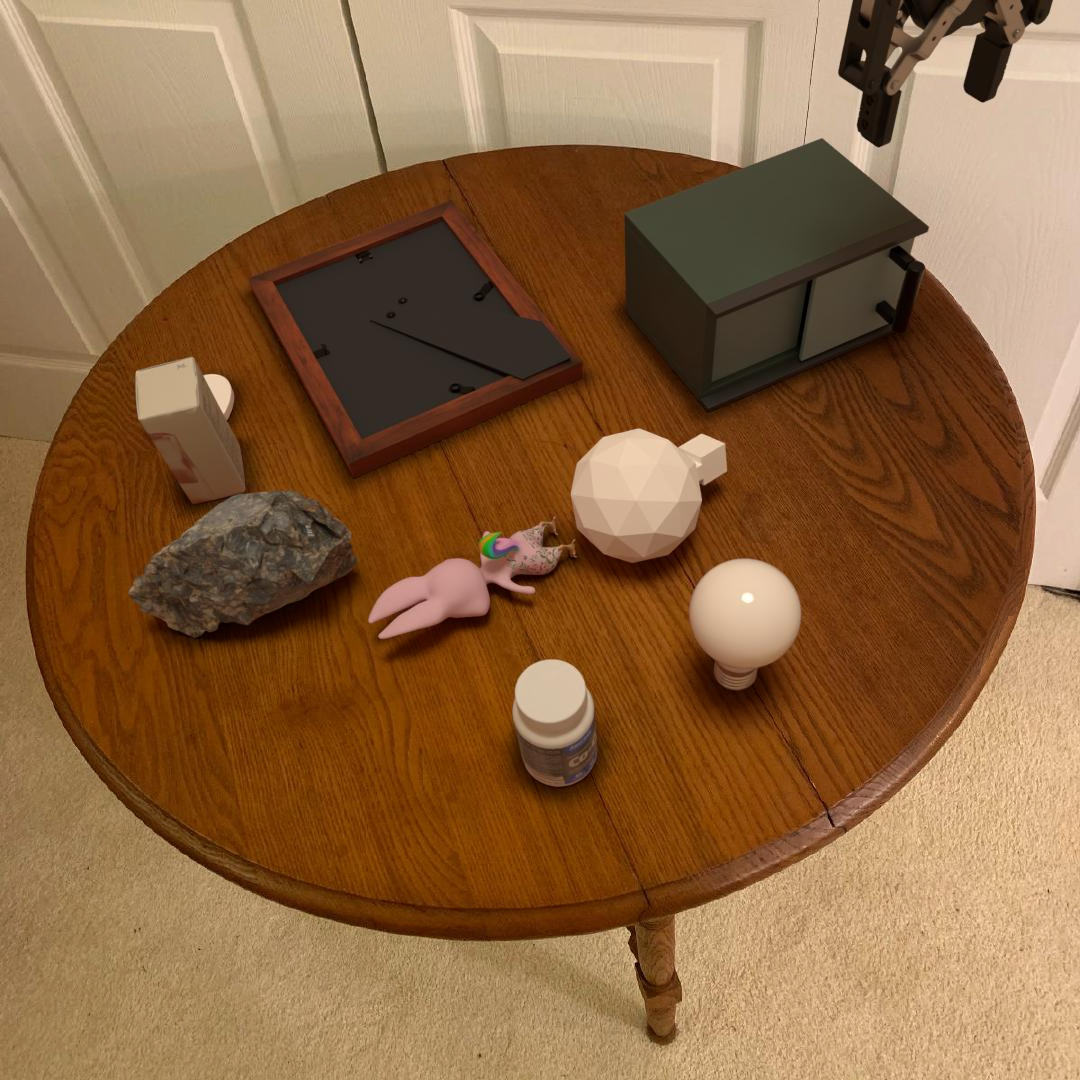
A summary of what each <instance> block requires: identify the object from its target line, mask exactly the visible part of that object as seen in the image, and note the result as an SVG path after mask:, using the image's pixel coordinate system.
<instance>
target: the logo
mask: <svg viewBox="0 0 1080 1080" xmlns="http://www.w3.org/2000/svg"><path fill="white" fill-rule="evenodd" d="M203 376H204V378H205V380H206V382H207V384H208V386H209V388H210V390H211V391H212V393H213V395H214V397H215V399H216V401H217V403H218V405H219V407H220V409H221V411H222V412H223V414H224V416H225V418H226V420H227V421H228V420H229V418H230V416H231V413H232V411H233V409H234V403H235V393H234V389H233V388H232V385H231V384H230V382H229V380H228V379H227V378H226V377H225V376H223V375H220V374H216V373H209V374H203Z"/></svg>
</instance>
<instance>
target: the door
mask: <svg viewBox="0 0 1080 1080" xmlns="http://www.w3.org/2000/svg"><path fill="white" fill-rule="evenodd" d="M915 238H916V237H915ZM915 238H912V239H910V240H907V241H905V242H902V243H900V244H898V245H895V246H893V247H890V248H888V249H885V250H883V251H881V252H878V253H876V254H873V255H871V256H868V257H866V258H864V259H861V260H859V261H856V262H854V263H851V264H849V265H847V266H844V267H842V268H839V269H837V270H834V271H832V272H830V273H827V274H825V275H822V276H820V277H818V278H815V279H813V281H812V287H811V293H810V298H809V304H808V309H807V315H806V321H805V326H804V332H803V337H802V343H801V349H800V354H799V359H800V360H801V361H803V360H805V359H807V358H810V357H812V356H814V355H817V354H819V353H821V352H824V351H826V350H828V349H831V348H833V347H835V346H838V345H840V344H842V343H845V342H847V341H849V340H852V339H854V338H856V337H859V336H861V335H863V334H866V333H868V332H870V331H873V330H875V329H877V328H880V327H882V326H884V325H887V324H889V325H891V324H892V325H891V328H892V330H893V331H894V332H893V333H896V334H904V333H906V332H907V331H908V329H909V325H910V322H911V319H912V314H913V311H914V308H915V304H916V301H917V298H918V294H919V291H920V287H921V284H922V280H923V277H924V273H925V270H926V265H925V263H923V262H922V261H919V260H916V258H915V257H913V255H911V253H912V250H913V246H914V242H915Z"/></svg>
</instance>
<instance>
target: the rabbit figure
mask: <svg viewBox="0 0 1080 1080" xmlns="http://www.w3.org/2000/svg"><path fill="white" fill-rule="evenodd" d="M556 518H557V516H554V517H553V518H552V520H551V521H544V520H543V521H540V522H539V523H538V524H537V525H536V526H533V527H530V528H528V529H524V530H518V531H516V532H514V533H513V534H512V535H511V536H510V537H509V538H507V537H499V536H500V535H501V534H502V531H497V532H490V531H488V530H486V531H484V532H483V534H482V537H481V538H480V540H479V542H478V551H479V553H480V554H479V556H480V562H481V566H480V567H479V566H477V564H475V563H474V562H472V561H471V560H468V559H466V558H458V557H456V558H447V559H445V560H444V561H442V562H441V563H439V564H437V565H436V566H434V567H432V568H431V569H430V570H429V571H428V572H427V573H425V574H424V575H422V576H409V577H406V578H403V579H401V580H398V581H397V582H395V583H394V584H392V585H390V586H388V587H387V589H385V590H384V591H383V592H382V593H381V594H380V595H379V597H378V598H377V600H376V601H375V603H374V605H373V607H372V608H371V611H370V613H369V616H368V621H367V622H368V623H369V624H374V623H376V622H378V621H379V620H382V619H385V618H388V617H389V616H392V615H395V614H396V613H398V612H401V611H403V610H405V609H408V608H409V609H408V610H406V611H404V612H402V613H401V614H399V615H398V616H397V617H395V618H394V619H393V620H392V621H391V622H389V624H388V625H387V626H386V627H385V628H384V629H383V630H382V631H381V632H380V633H379V634H378V636H377V637H378V638H379V639H380V640H387V639H391V638H394V637H396V636H397V637H398V636H400V635H403V634H407V633H411V632H414V631H418V630H421V629H425V628H429V627H432V626H435V625H438V624H440V623H442V622H444V621H445V620H446V619H448V618H453V619H454V618H455V619H456V618H457V619H458V618H459V619H460V618H471V617H472V618H473V617H482V616H485V615H486V614H487V613H488V612H489V609H490V606H491V598H490V593H489V590H488V586H487V585H488V584H495V585H498V586H500V587H501V588H504V589H506V590H508V591H511V592H515V593H519V594H523V595H532V596H533V595H534V594H535V593H536V588H535V587H534V586H531V585H521V584H520V585H519V584H517V583H515V582H514V581H513V580H511V579H512V578H514V577H515V576H516V575H527V576H528V575H532V576H542V575H546V574H549V573H550V572H552V571H553V570H554V569H555V568H556V567H557V564H558V563H559V560H560V558H561V555H562V553H563V552H564V550H565V549H567V550H568V551H569V556H570V557H571V558H577V557H578V555H576V544H575V543H574V542H575V541H576V538H575V539H573V540H572V541H571V543H570V544H559V546H549V547H548V546H547V547H546V546H544V532H545V529H546V528H547V527H548V528H549V529H550V533H551V534H555V535H556V536H559V533H558V532H557V521H556ZM410 607H411V608H410Z"/></svg>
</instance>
